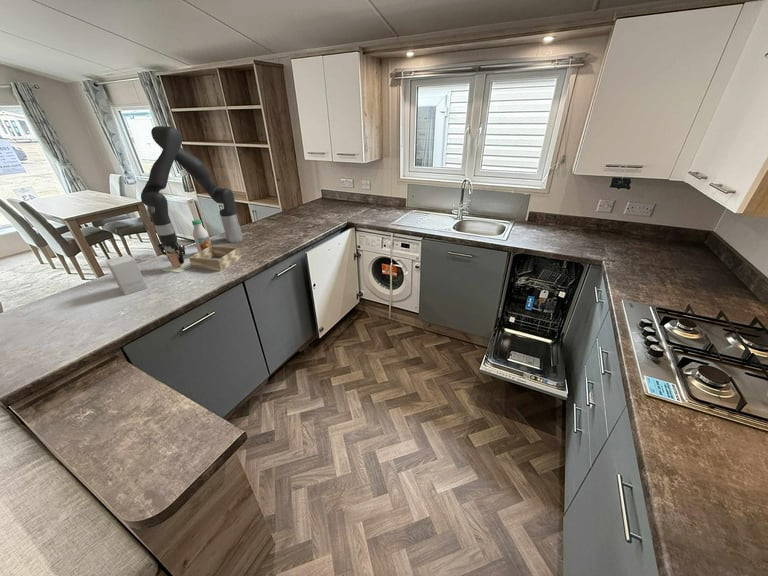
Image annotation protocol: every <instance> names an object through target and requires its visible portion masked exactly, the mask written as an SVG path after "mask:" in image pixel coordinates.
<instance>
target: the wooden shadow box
mask: <svg viewBox="0 0 768 576" xmlns="http://www.w3.org/2000/svg"><path fill="white" fill-rule="evenodd" d="M214 256H215V257H220V258H218V259H214V258H213V257H214ZM212 258H213V259H212ZM241 258H242V255H241V251H240V247H234V246H233V247H231V246H219V245H212V246H210V247H208V248H206V249H204V250H202V251H200V252H198V251H197V253H195V254H193V255H190V256H189V257H188V259H189V263H191V268H192V269H198V270H209V271H211V270H212V271H219V272H222V271H223V270H225V269H226V268H228V267H229V266H231V265H233V264H234V263H236V262H237V261H238V260H240V259H241Z"/></svg>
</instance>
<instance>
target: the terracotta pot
mask: <svg viewBox="0 0 768 576" xmlns="http://www.w3.org/2000/svg"><path fill="white" fill-rule="evenodd" d="M167 251H168V253H166V254H167V256H168V257H169V259H170V261H169V262H171V264H170V265H172V266H180V265H182V264H184V263H182V264H180V263H179V260H178V257H177V254H175V253H173V251H172V249H170V248H169V246H168V247H167ZM177 251H178V250H176V252H177ZM178 254H179V255H180V253H179V252H178ZM167 256H166V257H167ZM168 257H167V258H168ZM169 259H168V260H169Z"/></svg>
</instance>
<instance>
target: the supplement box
mask: <svg viewBox="0 0 768 576" xmlns="http://www.w3.org/2000/svg"><path fill="white" fill-rule="evenodd" d="M105 263H106V265H107V267H108V268H109V271H110V272H111V274H112V276H113V278H114V280H115V282H116V285H117V286H118V289H119V290H120V291H121V292H122V293H123V294H124V295H125V296H127V295H129V294H130V295H131V294H133V293H136V292H140V291H142V290H145V289H147V288H148V285H147V283H146V281H145V279H144V277H143V274H142V272H141V269H140V267H139V266H138V263H137V261H136V259H135V258H134V257H132V256H131V255H130V254H127V255H122V256H119V257H114V258H111V259H107V260H105Z"/></svg>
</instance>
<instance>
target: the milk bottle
mask: <svg viewBox="0 0 768 576" xmlns="http://www.w3.org/2000/svg"><path fill="white" fill-rule="evenodd" d="M191 223H192V226H193V230H192V231H193V233H192V235H193V240H194V242H195V247H196V249H197V253H198V252H200V251H202V250H204V249H206V248H208V247H210V246H213V245H212V242H211V240H210V239H211V237H210V236H209V233H208V231H207V230H206V229H205V228H204V226H203V223H202V219H193V220H191Z"/></svg>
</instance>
